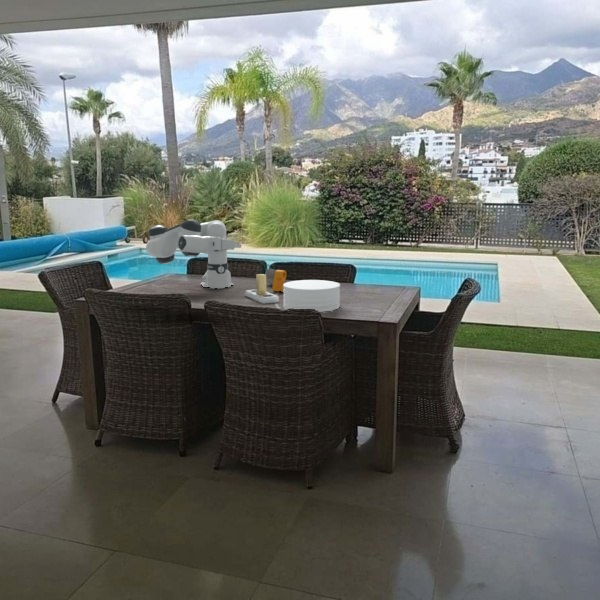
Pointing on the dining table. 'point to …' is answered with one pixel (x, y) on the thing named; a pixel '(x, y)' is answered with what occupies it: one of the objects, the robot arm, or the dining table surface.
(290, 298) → the plate stack
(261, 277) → the peg
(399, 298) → the dining table surface
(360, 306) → the dining table surface
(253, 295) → the white power strip
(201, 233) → the robot arm
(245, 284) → the dining table surface
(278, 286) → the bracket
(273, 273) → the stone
